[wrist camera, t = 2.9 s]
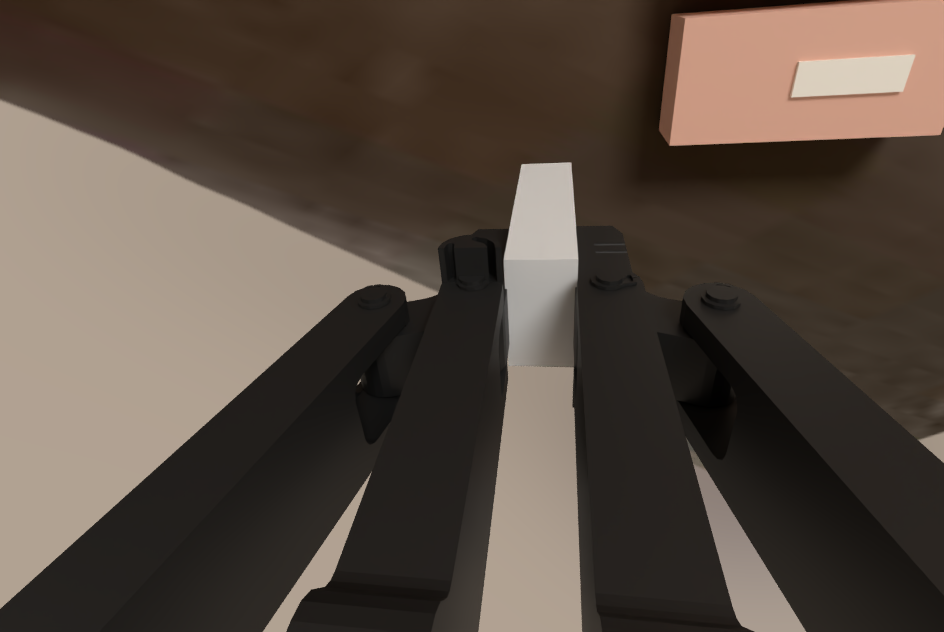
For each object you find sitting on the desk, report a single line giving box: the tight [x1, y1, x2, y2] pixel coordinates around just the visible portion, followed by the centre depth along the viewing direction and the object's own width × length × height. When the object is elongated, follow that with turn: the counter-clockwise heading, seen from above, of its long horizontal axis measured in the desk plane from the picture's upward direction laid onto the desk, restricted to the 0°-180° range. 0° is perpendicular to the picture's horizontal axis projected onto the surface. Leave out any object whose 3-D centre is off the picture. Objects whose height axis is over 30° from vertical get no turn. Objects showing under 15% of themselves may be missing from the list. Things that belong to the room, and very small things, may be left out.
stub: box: [659, 0, 944, 146], centre depth 27 cm, size 13×6×4 cm, turn 94°
